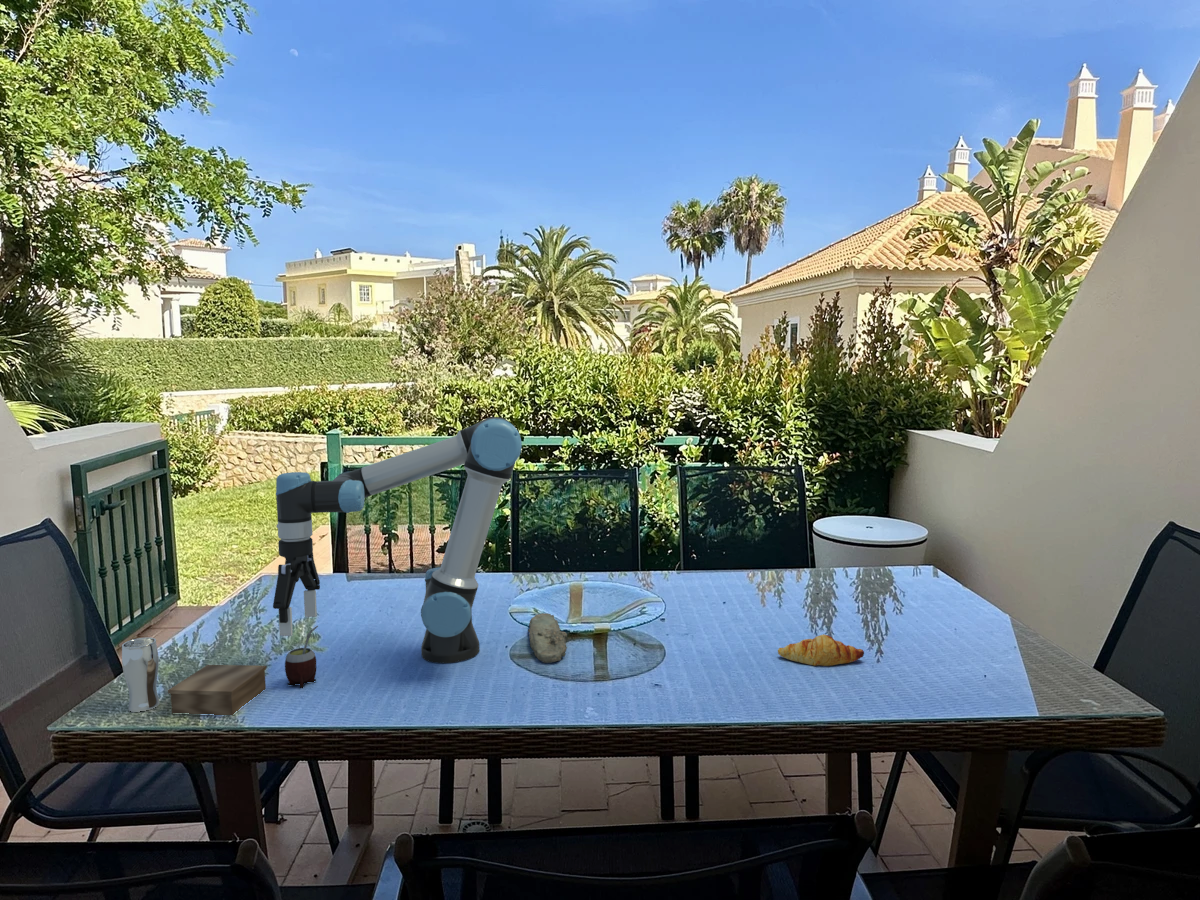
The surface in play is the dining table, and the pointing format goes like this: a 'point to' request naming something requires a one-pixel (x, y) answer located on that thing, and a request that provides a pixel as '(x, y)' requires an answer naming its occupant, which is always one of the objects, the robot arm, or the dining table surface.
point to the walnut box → (218, 689)
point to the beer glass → (141, 673)
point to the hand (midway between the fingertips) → (298, 625)
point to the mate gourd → (301, 665)
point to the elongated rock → (547, 638)
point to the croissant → (821, 652)
